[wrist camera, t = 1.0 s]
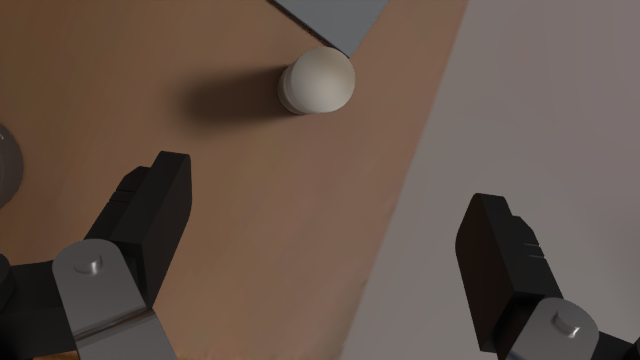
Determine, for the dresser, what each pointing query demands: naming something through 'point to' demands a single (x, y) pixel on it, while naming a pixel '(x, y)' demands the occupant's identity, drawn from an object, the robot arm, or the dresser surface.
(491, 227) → the robot arm
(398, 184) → the dresser surface
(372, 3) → the slate mat
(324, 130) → the dresser surface
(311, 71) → the cream peg
